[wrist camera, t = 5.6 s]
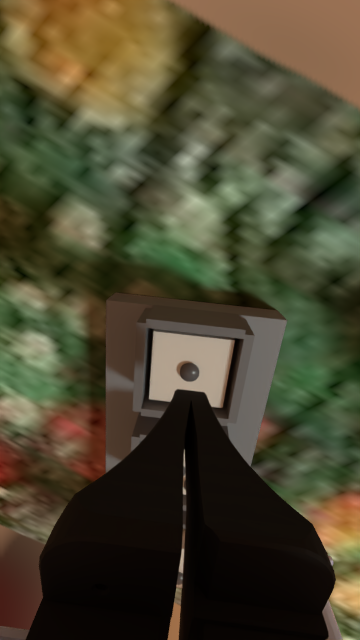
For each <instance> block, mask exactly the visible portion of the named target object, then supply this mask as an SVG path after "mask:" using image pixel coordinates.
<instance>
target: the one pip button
mask: <svg viewBox="0 0 360 640" xmlns="http://www.w3.org/2000/svg"><path fill="white" fill-rule="evenodd" d="M234 342H235V339H234V338H231V337H222V336H213V335H205V334H196V333H187V332H178V331H169V330H160V329H154V333H153V347H152V362H151V377H150V391H149V399H152V400H160V401H168V402H171V400H172V398H173V395H174V392H175V390H177V389H182V390H191V391H199V392H205V394H206V395H207V398H208V400H209V403H210V405H211V407H219V408H222V407H223V402H224V397H225V391H226V386H227V380H228V375H229V369H230V364H231V359H232V353H233V348H234Z"/></svg>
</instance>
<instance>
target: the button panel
mask: <svg viewBox="0 0 360 640" xmlns="http://www.w3.org/2000/svg"><path fill="white" fill-rule="evenodd" d="M286 323H287V320H286V319H285V318H284V317H283V316H282V315H281V314H280V313H279V312H278V311H277V310H269V309H260V308H251V307H242V306H233V305H224V304H215V303H206V302H197V301H188V300H179V299H170V298H160V297H151V296H142V295H133V294H124V293H114V294H113V295H112V296H111V297H109V298H108V299H107V300H106V473H107V472H108V471H109V470H111V469H112V468H113V467H114V466H116V465H117V464H118V463H119V462H121V461H122V460H123V459H124V458H125V457H126V456H127V455H128V454H129V453H130V452H131V451H133V450H134V449H135V448H136V447H137V446H138V445H139V444H140V443H141V441H142V440H143V439H144V438H145V437H146V436H147V435H148V434H149V432H150V431H151V430H152V429H153V427H154V426H155V425H156V423H157V422H158V421H159V419H160V418H161V417H162V415H163V413H164V412H165V410H166V409H167V407H168V405H169V404H170V402H168V401H160V400H152V399H149V391H150V377H151V362H152V347H153V333H154V329H160V330H169V331H178V332H187V333H196V334H205V335H213V336H222V337H231V338H234V339H235V342H234V348H233V353H232V359H231V364H230V369H229V375H228V380H227V386H226V391H225V397H224V402H223V407H222V408H219V407H212V409H213V411H214V413H215V415H216V417H217V419H218V421H219V423H220V424H221V426H222V428H223V429H224V431H225V433H226V434H227V436H228V437H229V439H230V441H231V442H232V443H233V445H234V446H235V448H236V449H237V451H238V452H239V453H240V454H241V456H242V457H243V458H244V460H245V461H246V462H247V463H248V464H249V466H251V462H252V458H253V454H254V450H255V446H256V442H257V438H258V434H259V430H260V426H261V422H262V418H263V414H264V410H265V406H266V402H267V398H268V394H269V390H270V386H271V383H272V379H273V375H274V371H275V367H276V363H277V359H278V355H279V351H280V347H281V343H282V339H283V335H284V331H285V327H286ZM185 525H186V495H184V494H183V529H184V530H185Z"/></svg>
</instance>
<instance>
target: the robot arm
mask: <svg viewBox="0 0 360 640" xmlns="http://www.w3.org/2000/svg"><path fill="white" fill-rule="evenodd" d="M184 449H185V478H186V525H185V544H184V562H183V579H182V596H181V613H180V629H179V640H343V639H342V636H341V633H340V631H339V628H338V625H337V622H336V619H335V617H334V614H333V611H332V608H331V605H330V602H329V600H328V599H329V597H330V595H331V593H332V591H333V588H334V584H335V581H336V579H335V574H334V570H333V567H332V565H333V560H332V557H330V556H328V555H327V552H326V550H325V548H324V546H323V544H322V542H321V540H320V538H319V536H318V534H317V532H316V530H315V528H314V526H313V524H312V523H310V522H309V521H308V520H307V519H306V518H304V517H303V516H302V515H301V514H299V513H298V512H297V511H296V510H295V509H293V508H292V507H291V506H290V505H289V504H287V503H286V502H285V501H284V500H283V499H282V498H281V497H280V496H279V495H277V494H276V493H275V492H274V491H273V490H272V489H271V488H270V487H269V486H268V485H267V484H266V483H265V482H264V481H263V480H262V479H261V478H260V477H259V475H258V474H257V473H256V472H255V471H254V470H253V469H252V468H251V467H250V466H249V464H248V463H247V462H246V461H245V460H244V458H243V457H242V456H241V454H240V453H239V452H238V451H237V449H236V448H235V446H234V445H233V443H232V442H231V441H230V439H229V437H228V436H227V434H226V433H225V431H224V429H223V428H222V426H221V424H220V423H219V421H218V419H217V417H216V415H215V413H214V411H213V409H212V407H211V405H210V403H209V400H208V398H207V395H206V394H205V392H199V391H191V390H182V389H177V390H175V392H174V395H173V398H172V400H171V402H170V404H169V405H168V407H167V409H166V410H165V412H164V413H163V415H162V417H161V418H160V419H159V421H158V422H157V423H156V425H155V426H154V427H153V429H152V430H151V431H150V432H149V434H148V435H147V436H146V437H145V438H144V439H143V440H142V441H141V443H140V444H139V445H138V446H137V447H136V448H135V449H134V450H133V451H131V452H130V453H129V454H128V455H127V456H126V457H125V458H124V459H123V460H122V461H121V462H119V463H118V464H117V465H116V466H114V467H113V468H112V469H111V470H109V471H108V472H107V473H106V474H104V475H103V476H102V477H100V478H99V479H97V480H96V481H94V482H93V483H91V484H90V485H88V486H87V487H85V488H84V489H82V490H81V491H79V492H78V493H76V494H75V495H74V496H73V498H72V499H71V501H70V502H69V503H68V505H67V506H66V508H65V509H64V511H63V513H62V514H61V516H60V518H59V519H58V521H57V523H56V524H55V526H54V528H53V530H52V532H51V534H50V536H49V538H48V540H47V543H46V545H45V547H44V549H43V551H42V553H41V555H40V561H39V570H40V576H41V585H42V592H43V599H42V601H41V604H40V606H39V608H38V611H37V613H36V616H35V618H34V620H33V623H32V625H31V628H30V630H25V629H18V628H11V627H4V626H0V640H167V639H168V633H169V626H170V620H171V617H172V611H173V605H174V598H175V592H176V585H177V579H178V573H179V566H180V560H181V553H182V536H183V465H184Z"/></svg>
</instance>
